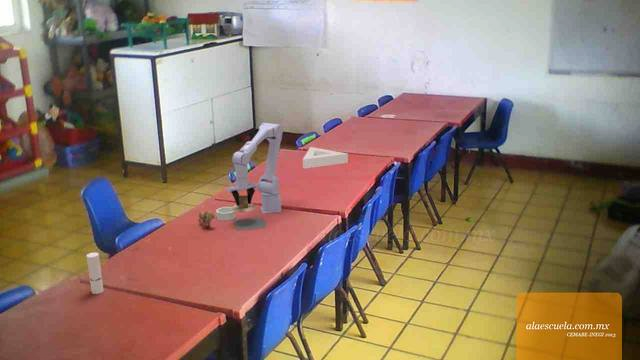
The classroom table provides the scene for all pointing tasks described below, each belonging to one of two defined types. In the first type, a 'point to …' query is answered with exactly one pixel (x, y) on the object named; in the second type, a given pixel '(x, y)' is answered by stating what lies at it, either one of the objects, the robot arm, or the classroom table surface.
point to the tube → (95, 273)
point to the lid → (243, 205)
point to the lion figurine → (206, 218)
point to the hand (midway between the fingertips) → (243, 204)
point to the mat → (250, 223)
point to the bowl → (225, 213)
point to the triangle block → (323, 158)
